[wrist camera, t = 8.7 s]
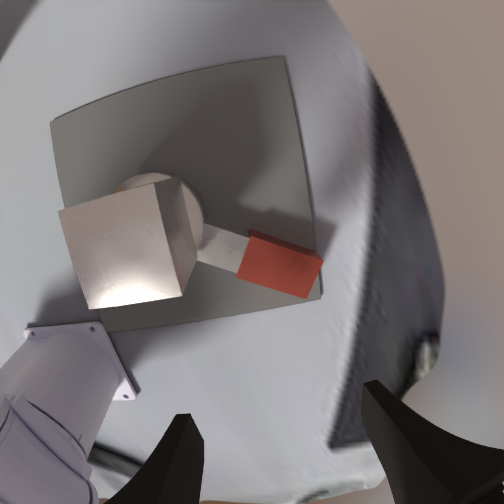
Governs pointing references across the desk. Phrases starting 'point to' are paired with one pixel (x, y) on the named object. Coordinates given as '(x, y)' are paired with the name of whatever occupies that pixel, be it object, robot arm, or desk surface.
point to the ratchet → (243, 246)
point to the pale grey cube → (131, 244)
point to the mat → (198, 172)
